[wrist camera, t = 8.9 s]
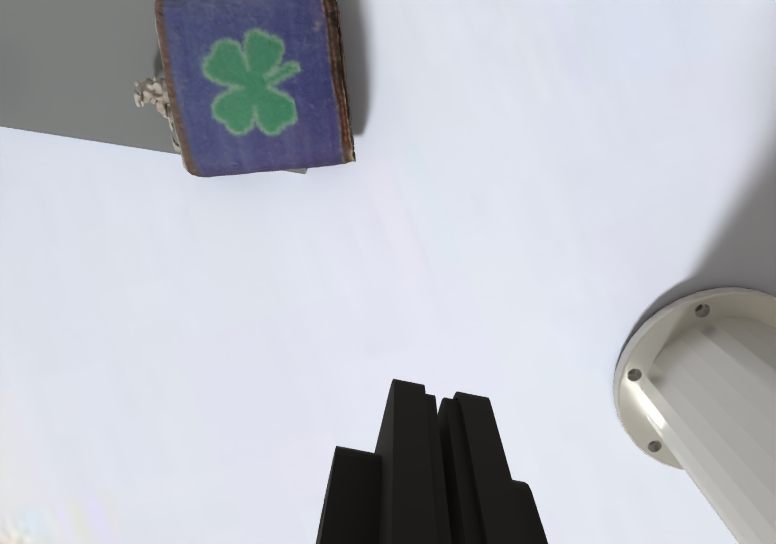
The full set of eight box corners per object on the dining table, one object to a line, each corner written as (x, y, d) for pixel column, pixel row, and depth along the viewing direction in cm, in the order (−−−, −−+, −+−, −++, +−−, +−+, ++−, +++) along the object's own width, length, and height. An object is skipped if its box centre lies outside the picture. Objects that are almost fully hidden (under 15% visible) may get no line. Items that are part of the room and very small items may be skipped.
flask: (336, -21, 31) (128, 1, 31) (332, -30, 28) (104, -6, 28) (357, 160, 34) (168, 179, 34) (355, 168, 31) (149, 189, 31)
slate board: (332, -62, 30) (331, -64, 30) (306, 172, 34) (305, 174, 34) (-11, -123, 29) (-16, -125, 29) (1, 125, 33) (-3, 125, 33)
